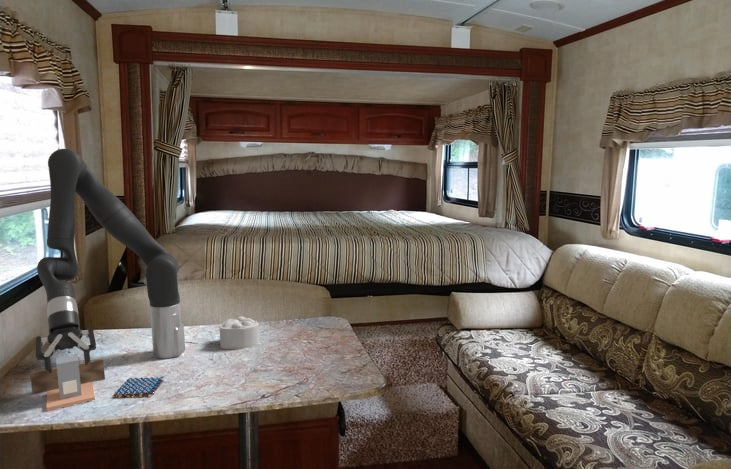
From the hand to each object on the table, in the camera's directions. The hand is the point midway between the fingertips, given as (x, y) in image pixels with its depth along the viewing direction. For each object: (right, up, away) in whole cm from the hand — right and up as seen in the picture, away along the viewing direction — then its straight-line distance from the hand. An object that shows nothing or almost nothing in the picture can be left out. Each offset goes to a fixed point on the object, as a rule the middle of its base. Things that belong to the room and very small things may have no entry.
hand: (68, 367), depth 136 cm
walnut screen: (-5, -7, +8) cm, 12 cm away
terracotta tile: (0, -8, +1) cm, 8 cm away
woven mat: (+16, -8, +6) cm, 19 cm away
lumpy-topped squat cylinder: (+36, -2, +41) cm, 55 cm away
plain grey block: (0, -7, +1) cm, 8 cm away
